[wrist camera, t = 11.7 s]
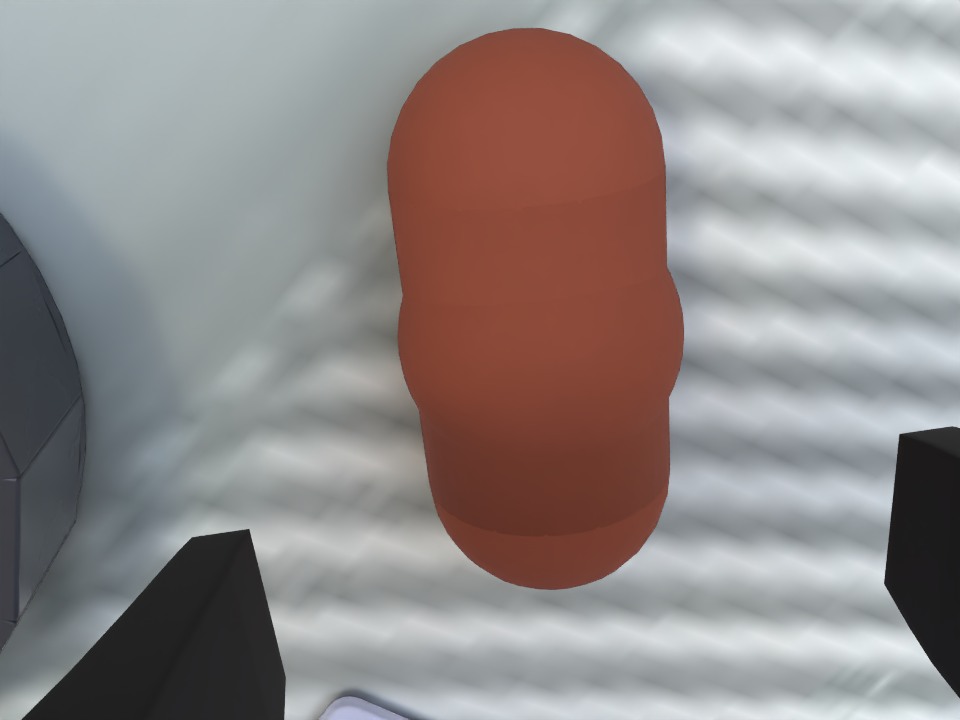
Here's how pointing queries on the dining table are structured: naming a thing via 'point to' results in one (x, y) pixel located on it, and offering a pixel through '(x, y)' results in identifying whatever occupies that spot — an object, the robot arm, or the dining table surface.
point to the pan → (34, 431)
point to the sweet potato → (537, 303)
